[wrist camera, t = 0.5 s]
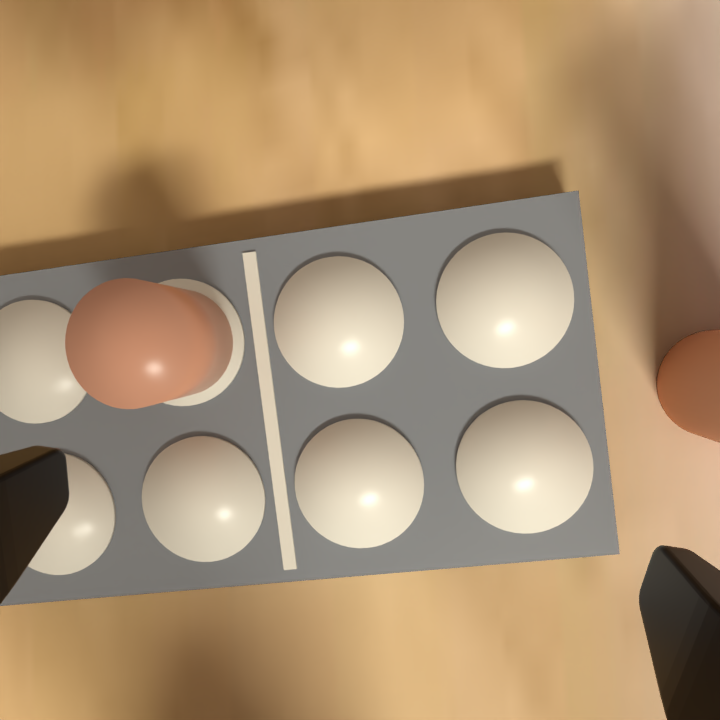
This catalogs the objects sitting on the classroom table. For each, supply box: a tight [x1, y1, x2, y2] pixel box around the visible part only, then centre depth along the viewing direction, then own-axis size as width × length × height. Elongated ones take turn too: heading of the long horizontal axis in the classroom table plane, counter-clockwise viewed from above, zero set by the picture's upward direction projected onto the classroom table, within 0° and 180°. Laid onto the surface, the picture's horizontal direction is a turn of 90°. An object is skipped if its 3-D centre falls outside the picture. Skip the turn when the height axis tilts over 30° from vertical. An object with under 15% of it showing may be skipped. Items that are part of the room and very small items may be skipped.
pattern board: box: [0, 191, 620, 606], centre depth 20 cm, size 13×24×6 cm, turn 97°
